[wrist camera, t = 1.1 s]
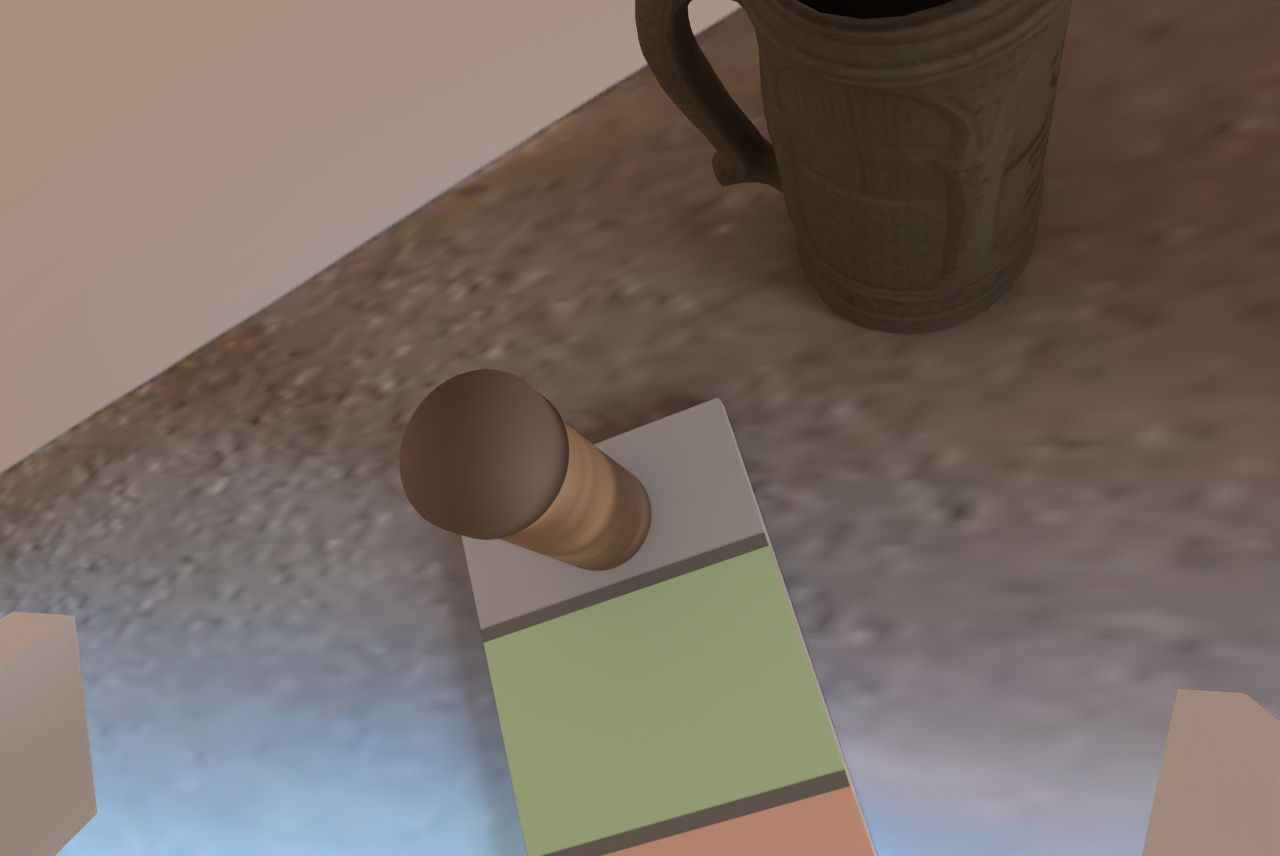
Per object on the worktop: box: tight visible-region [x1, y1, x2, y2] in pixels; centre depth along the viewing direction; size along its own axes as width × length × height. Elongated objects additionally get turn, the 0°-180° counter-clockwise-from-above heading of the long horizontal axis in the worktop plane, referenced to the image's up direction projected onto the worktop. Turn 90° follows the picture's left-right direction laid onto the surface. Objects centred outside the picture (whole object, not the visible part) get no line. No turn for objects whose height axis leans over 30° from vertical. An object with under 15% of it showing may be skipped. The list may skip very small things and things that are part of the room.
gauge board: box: [462, 398, 877, 856], centre depth 38 cm, size 14×24×1 cm, turn 17°
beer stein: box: [635, 0, 1072, 333], centre depth 33 cm, size 15×11×20 cm
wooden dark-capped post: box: [400, 369, 652, 571], centre depth 34 cm, size 6×6×12 cm
